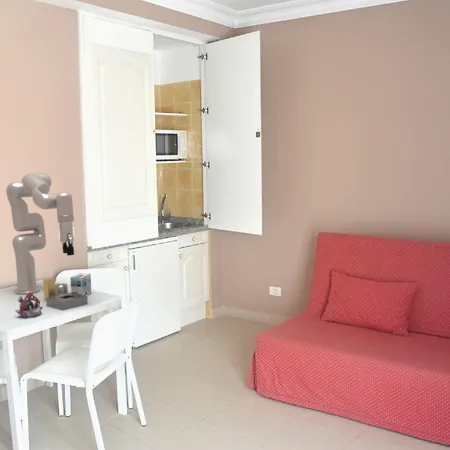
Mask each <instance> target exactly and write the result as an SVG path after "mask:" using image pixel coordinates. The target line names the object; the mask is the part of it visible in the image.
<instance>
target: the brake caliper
mask: <svg viewBox="0 0 450 450" xmlns="http://www.w3.org/2000/svg"><path fill="white" fill-rule="evenodd" d="M16 300H17V301H18V303H19V309H15V310H14V311H15V312H16V313H17V315H19V316H21V317H20V318H27V319H31V318H33V319H34V318H36V317H39V316H40V315H43V312H42V310H43V308H44V307H43V306H41V301H40V299H39V298H38V297H37V296H36V295H34V293H31V292H28V293H27V294H25V297H24V298H23V296H22V295H20V296H19V295H18V298H17V299H16ZM33 301H34V302H33Z"/></svg>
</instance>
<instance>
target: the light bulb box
mask: <svg viewBox="0 0 450 450" xmlns="http://www.w3.org/2000/svg"><path fill="white" fill-rule="evenodd" d="M91 278H92V277H91V273H78V274H75V275H73V276H70V279H69V280H70V292H72V293H77V294H81V295H87V296H89V295H91V294H92V293H91V292H92V279H91ZM90 293H91V294H90ZM88 294H89V295H88Z"/></svg>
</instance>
